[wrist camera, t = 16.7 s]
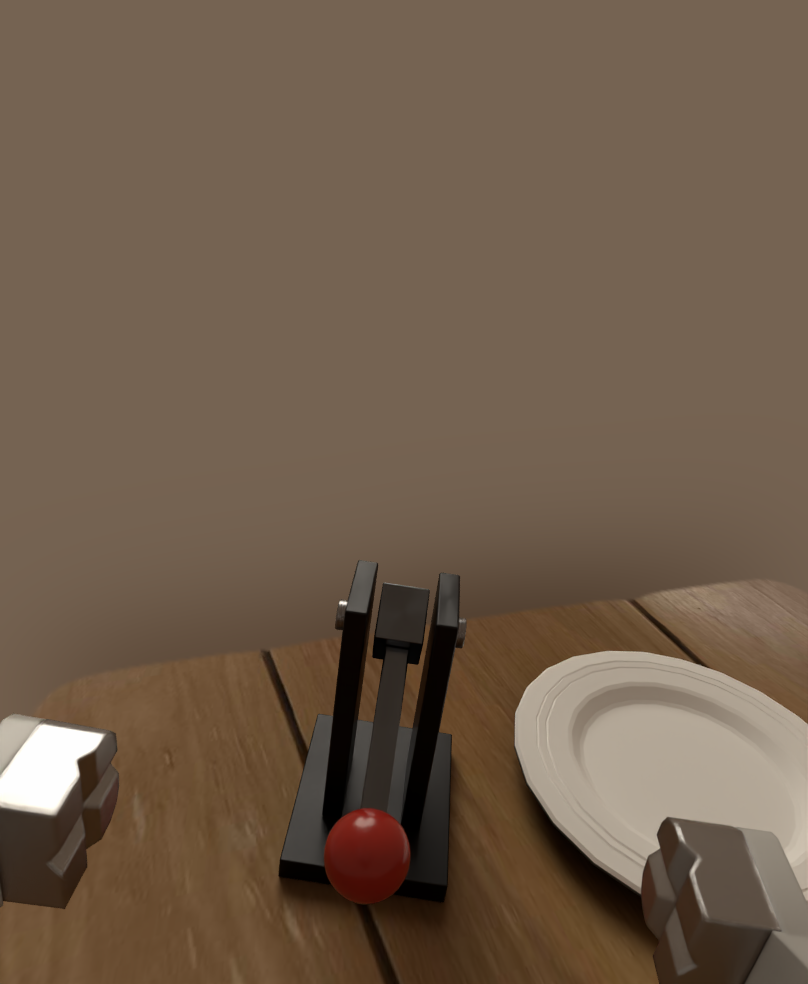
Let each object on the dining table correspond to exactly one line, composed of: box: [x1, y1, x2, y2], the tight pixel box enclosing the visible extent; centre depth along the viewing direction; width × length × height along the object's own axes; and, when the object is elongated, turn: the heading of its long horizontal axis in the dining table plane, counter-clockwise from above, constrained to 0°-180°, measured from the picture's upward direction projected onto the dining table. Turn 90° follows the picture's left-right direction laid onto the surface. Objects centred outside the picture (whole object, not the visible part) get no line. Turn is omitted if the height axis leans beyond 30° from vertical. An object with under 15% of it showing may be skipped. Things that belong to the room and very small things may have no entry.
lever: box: [324, 583, 430, 904], centre depth 32 cm, size 13×3×3 cm, turn 175°
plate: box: [514, 651, 808, 903], centre depth 44 cm, size 21×21×2 cm
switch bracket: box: [279, 560, 466, 902], centre depth 37 cm, size 10×8×14 cm
